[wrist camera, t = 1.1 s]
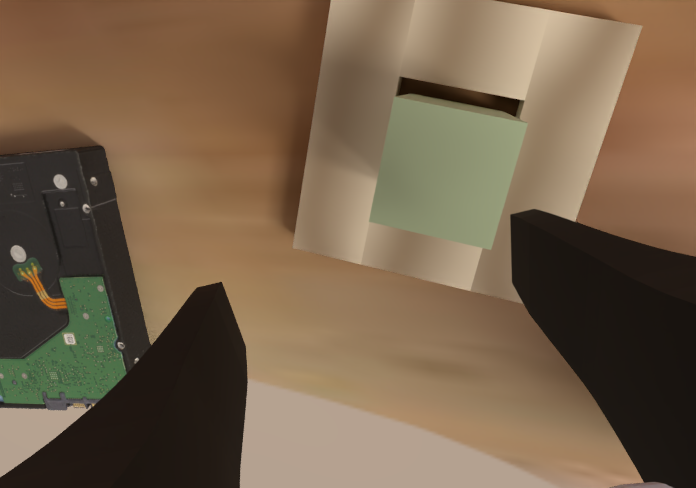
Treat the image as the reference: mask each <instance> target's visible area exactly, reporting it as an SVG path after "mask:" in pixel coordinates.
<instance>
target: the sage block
mask: <svg viewBox="0 0 696 488" xmlns="http://www.w3.org/2000/svg"><path fill="white" fill-rule="evenodd" d="M527 125H528V123H527V122H525V121H522V120H520V119H518V118H516V117H514V116H512V115H510V114H508V113H506V112H504V111H500V110H495V109H490V108H485V107H480V106H475V105H470V104H465V103H460V102H454V101H449V100H444V99H439V98H434V97H429V96H424V95H419V94H414V93H412V94H406V95H401V96H395V97H394V100H393V105H392V110H391V115H390V120H389V124H388V129H387V134H386V139H385V144H384V149H383V154H382V159H381V164H380V169H379V173H378V178H377V183H376V188H375V193H374V198H373V203H372V208H371V213H370V218H369V222H372V223H376V224H381V225H385V226H389V227H394V228H398V229H402V230H407V231H411V232H415V233H420V234H424V235H428V236H433V237H437V238H441V239H446V240H450V241H454V242H459V243H463V244H467V245H472V246H476V247H480V248H485V249H489V250H491V248H492V245H493V241H494V238H495V235H496V231H497V228H498V224H499V221H500V218H501V214H502V211H503V207H504V204H505V200H506V197H507V194H508V190H509V187H510V183H511V180H512V176H513V173H514V170H515V166H516V163H517V159H518V156H519V152H520V149H521V146H522V142H523V139H524V135H525V132H526V129H527Z"/></svg>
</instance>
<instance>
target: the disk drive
mask: <svg viewBox="0 0 696 488" xmlns="http://www.w3.org/2000/svg"><path fill="white" fill-rule="evenodd" d="M150 347H151V344H150V342H149V337H148V334H147V329H146V325H145V321H144V316H143V312H142V308H141V303H140V299H139V294H138V290H137V286H136V282H135V277H134V273H133V268H132V264H131V260H130V256H129V251H128V248H127V243H126V239H125V235H124V230H123V226H122V222H121V218H120V213H119V209H118V204H117V200H116V193H115V187H114V183H113V179H112V175H111V172H110V170H109V166H108V162H107V158H106V153H105V149H104V147H103V146H92V147H80V148H70V149H59V150H50V151H38V152H27V153H17V154H7V155H0V408H29V409H46V408H47V409H48V410H67V407H69V406H72V405H73V406H74V408H86V409H88V407H89V406H90V405H91V408H92V407H93V406H94V405H95V404H96V403H97V402H98V401H99V400H101V399H102V398H103V397H104V396H105V395H106V394H107V393H108V392H109V391H110V390H111V389H112V388H113V387H114V386H115V385H116V384H117V383H118V382H119V381H120V380H121V379H122V378H123V377H124V376H125V375H126V374H127V373H128V372H129V371H130V370H131V368H132V367H133V366H134V365H135V364H136V363H137V362H138V360H139V359H140V358H141V357H142V356H143V355H144V353H145V352H146V351H147V350H148V349H149V348H150Z"/></svg>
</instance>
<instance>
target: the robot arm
mask: <svg viewBox="0 0 696 488" xmlns="http://www.w3.org/2000/svg"><path fill="white" fill-rule="evenodd" d="M510 228H511V267H512V284H513V286H514V287H515V289H516V291H517V293H518V295H519V297H520V298H521V300H522V302H523V304H524V305H525V307H526V309H527V310H528V312H529V314H530V315H531V317H532V318H533V319H534V321H535V322H536V323H537V324H538V326H539V327H540V328H541V330H542V331H543V332H544V333H545V335H546V336H547V337H548V339H549V340H550V341H551V342H552V344H553V345H554V346H555V348H556V349H557V350H558V351H559V353H560V354H561V355H562V356H563V358H564V359H565V360H566V361H567V363H568V364H569V365H570V367H571V368H572V369H573V370H574V372H575V373H576V374H577V375H578V377H579V378H580V379H581V381H582V382H583V383H584V385H585V386H586V387H587V389H588V390H589V392H590V393H591V394H592V396H593V397H594V399H595V401H596V402H597V404H598V405H599V407H600V409H601V410H602V412H603V413H604V415H605V417H606V418H607V420H608V421H609V423H610V425H611V426H612V428H613V430H614V431H615V433H616V435H617V436H618V438H619V440H620V441H621V443H622V445H623V446H624V448H625V450H626V452H627V453H628V455H629V457H630V458H631V460H632V462H633V463H634V465H635V467H636V469H637V470H638V472H639V474H640V476H641V478H642V479H643V481H644V483H636V484H624V485H618V486H614V487H610V488H696V257H694V256H689V255H685V254H680V253H676V252H671V251H667V250H663V249H659V248H655V247H652V246H648V245H645V244H641V243H638V242H634V241H631V240H628V239H624V238H621V237H618V236H615V235H612V234H609V233H606V232H603V231H600V230H597V229H594V228H591V227H588V226H586V225H583V224H580V223H577V222H574V221H571V220H569V219H566V218H563V217H560V216H557V215H554V214H551V213H548V212H545V211H541V210H537V209H531V210H527V211H523V212H518V213H514V214H510ZM247 383H248V382H247V360H246V346H245V343H244V341H243V338H242V335H241V332H240V330H239V327H238V324H237V322H236V319H235V316H234V314H233V311H232V308H231V305H230V303H229V300H228V297H227V295H226V292H225V289H224V287H223V284H222V282H219V283H215V284H211V285H206V286H202V287H198V288H196V289H195V291H194V292H193V293H192V294H191V295H190V297H189V298H188V299H187V301H186V302H185V303H184V305H183V306H182V307H181V309H180V310H179V311H178V313H177V314H176V315H175V317H174V318H173V319H172V320H171V322H170V323H169V324H168V326H167V327H166V328H165V329H164V331H163V332H162V333H161V334H160V336H159V337H158V338H157V340H156V341H155V342H154V343H153V344H152V345H151V347H150V348H149V349H148V350H147V351H146V352H145V353H144V355H143V356H142V357H141V358H140V359H139V360H138V362H137V363H136V364H135V365H134V366H133V367H132V368H131V370H130V371H129V372H128V373H127V374H126V375H125V376H124V377H123V378H122V379H121V380H120V381H119V382H118V383H117V384H116V385H115V386H114V387H113V388H112V389H111V390H110V391H109V392H108V393H107V394H106V395H105V396H104V397H103V398H102V399H101V400H99V401H98V402H97V403H96V404H95V405H94V406H93V407H92V408H91V409H90V410H88V411H87V412H86V413H85V414H83V415H82V416H81V417H80V418H79V419H78V420H76V421H75V422H74V423H73V424H71V425H70V426H69V427H68V428H67V429H66V430H64V431H63V432H62V433H61V434H60V435H58V436H57V437H56V438H55V439H53V440H52V441H51V442H49V444H47V445H45V446H44V447H43V448H41V449H40V450H39V451H37V452H36V453H35V454H33V455H32V456H31V457H29V458H28V459H26V460H25V461H24V462H22V463H21V464H19V465H18V466H17V467H15V468H14V469H12V470H11V471H9V472H8V473H6V474H5V475H3V476H2V477H0V488H240V464H241V453H242V442H243V431H244V420H245V408H246V396H247Z"/></svg>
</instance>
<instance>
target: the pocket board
mask: <svg viewBox="0 0 696 488" xmlns="http://www.w3.org/2000/svg"><path fill="white" fill-rule="evenodd" d="M641 29H642V26H641V25H635V24H629V23H623V22H617V21H611V20H605V19H600V18H594V17H588V16H582V15H576V14H570V13H564V12H558V11H552V10H547V9H541V8H535V7H529V6H523V5H517V4H511V3H505V2H500V1H494V0H331V3H330V10H329V16H328V22H327V29H326V35H325V42H324V48H323V55H322V61H321V68H320V74H319V80H318V87H317V93H316V100H315V106H314V113H313V119H312V125H311V132H310V138H309V145H308V151H307V158H306V164H305V171H304V177H303V183H302V190H301V196H300V203H299V209H298V216H297V222H296V228H295V235H294V241H293V248H295V249H299V250H303V251H307V252H311V253H315V254H319V255H323V256H328V257H332V258H336V259H340V260H344V261H348V262H352V263H356V264H360V265H365V266H369V267H373V268H377V269H381V270H385V271H389V272H393V273H398V274H402V275H406V276H410V277H414V278H418V279H422V280H426V281H430V282H435V283H439V284H443V285H447V286H451V287H455V288H459V289H463V290H467V291H472V292H476V293H480V294H484V295H488V296H492V297H496V298H500V299H505V300H509V301H513V302H517V303H521V304H523V302H522V300H521V298H520V297H519V295H518V293H517V291H516V289H515V287H514V286H513V284H512V267H511V228H510V214H514V213H518V212H523V211H527V210H531V209H537V210H541V211H545V212H548V213H551V214H554V215H557V216H560V217H563V218H566V219H569V220H571V221H574V222H575V221H576V218H577V215H578V212H579V209H580V206H581V203H582V200H583V198H584V195H585V192H586V189H587V186H588V183H589V180H590V177H591V174H592V171H593V168H594V166H595V163H596V160H597V157H598V154H599V151H600V148H601V145H602V142H603V139H604V137H605V134H606V131H607V128H608V125H609V122H610V119H611V116H612V113H613V110H614V107H615V105H616V102H617V99H618V96H619V93H620V90H621V87H622V84H623V81H624V78H625V75H626V73H627V70H628V67H629V64H630V61H631V58H632V55H633V52H634V49H635V46H636V43H637V41H638V38H639V35H640V32H641ZM403 77H405V78H411V79H416V80H421V81H426V82H431V83H436V84H442V85H447V86H452V87H457V88H462V89H467V90H473V91H478V92H483V93H488V94H493V95H499V96H504V97H509V98H514V99H519V100H520V102H519V105H518V109H517V112H516V116H515V117H516V118H518V119H520V120H522V121H525V122H527V123H528V125H527V129H526V132H525V135H524V139H523V142H522V146H521V149H520V152H519V156H518V159H517V163H516V166H515V170H514V173H513V176H512V180H511V183H510V187H509V190H508V194H507V197H506V200H505V204H504V207H503V211H502V214H501V218H500V221H499V224H498V228H497V231H496V235H495V238H494V241H493V245H492V248H491V250H489V249H485V248H480V247H476V246H472V245H467V244H463V243H459V242H454V241H450V240H446V239H441V238H437V237H433V236H428V235H424V234H420V233H415V232H411V231H407V230H402V229H398V228H394V227H389V226H385V225H381V224H376V223H372V222H369V218H370V213H371V208H372V203H373V198H374V193H375V188H376V183H377V178H378V173H379V169H380V164H381V159H382V154H383V149H384V144H385V139H386V134H387V129H388V124H389V120H390V115H391V110H392V105H393V100H394V97H395V96H399V92H400V87H401V82H402V78H403Z"/></svg>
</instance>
